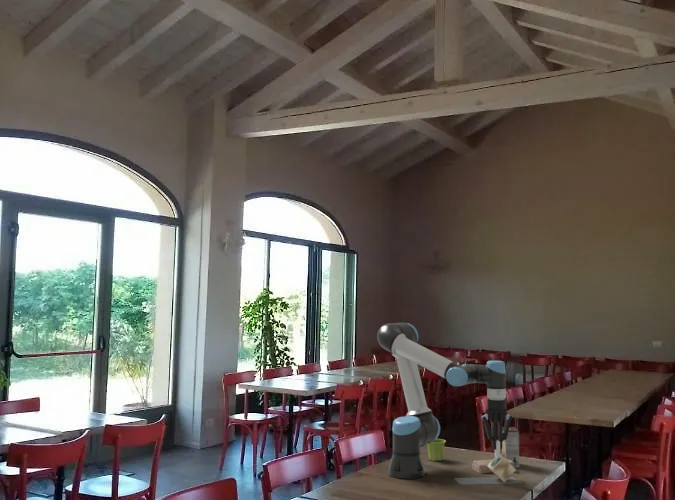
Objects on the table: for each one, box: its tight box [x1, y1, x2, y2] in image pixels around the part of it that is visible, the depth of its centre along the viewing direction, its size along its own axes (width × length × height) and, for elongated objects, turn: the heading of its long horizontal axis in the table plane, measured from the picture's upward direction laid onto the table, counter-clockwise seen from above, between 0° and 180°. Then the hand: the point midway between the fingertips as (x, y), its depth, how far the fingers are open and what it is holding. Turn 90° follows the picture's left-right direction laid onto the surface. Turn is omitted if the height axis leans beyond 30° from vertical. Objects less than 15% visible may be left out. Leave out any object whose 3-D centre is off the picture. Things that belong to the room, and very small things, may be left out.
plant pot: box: [426, 438, 447, 462], centre depth 323 cm, size 9×9×9 cm
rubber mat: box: [453, 476, 523, 486], centre depth 284 cm, size 26×10×1 cm, turn 96°
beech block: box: [487, 454, 517, 482], centre depth 285 cm, size 7×7×7 cm
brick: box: [471, 459, 515, 474], centre depth 302 cm, size 17×8×5 cm, turn 106°
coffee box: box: [501, 426, 520, 468], centre depth 313 cm, size 9×6×16 cm
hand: (497, 457), depth 285 cm, fingers closed
